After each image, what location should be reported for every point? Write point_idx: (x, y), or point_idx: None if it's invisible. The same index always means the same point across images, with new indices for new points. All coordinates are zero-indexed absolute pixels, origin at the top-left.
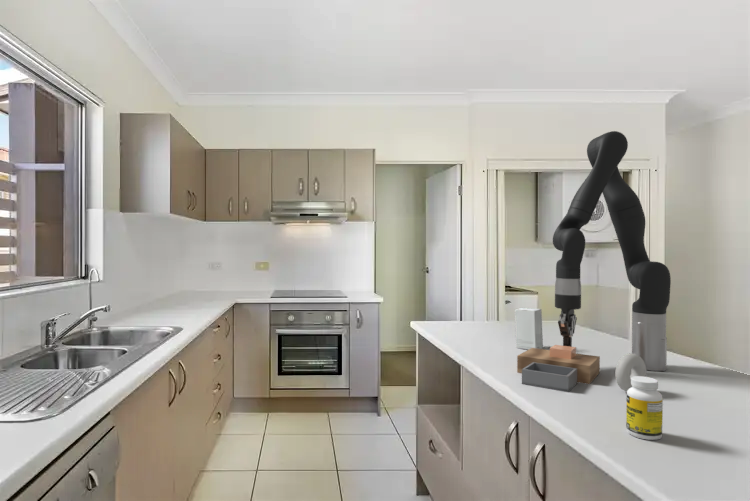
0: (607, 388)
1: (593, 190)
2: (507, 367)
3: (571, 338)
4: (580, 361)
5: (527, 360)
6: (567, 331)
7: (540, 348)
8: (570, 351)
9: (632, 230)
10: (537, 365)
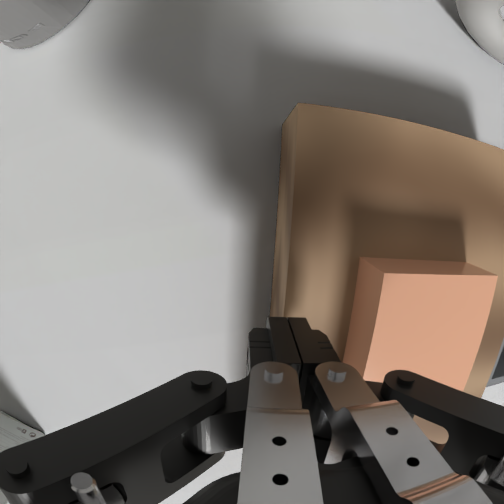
0: (490, 103)
1: None
2: None
3: (285, 356)
4: (488, 207)
5: None
6: (466, 398)
7: (13, 420)
8: (493, 277)
9: None
10: None
